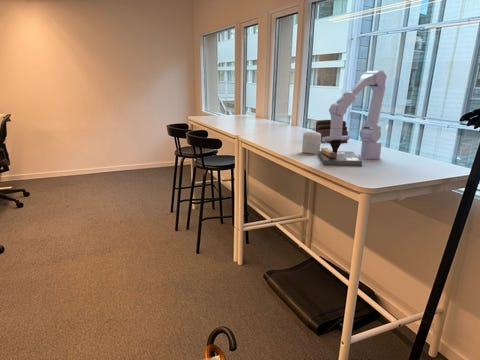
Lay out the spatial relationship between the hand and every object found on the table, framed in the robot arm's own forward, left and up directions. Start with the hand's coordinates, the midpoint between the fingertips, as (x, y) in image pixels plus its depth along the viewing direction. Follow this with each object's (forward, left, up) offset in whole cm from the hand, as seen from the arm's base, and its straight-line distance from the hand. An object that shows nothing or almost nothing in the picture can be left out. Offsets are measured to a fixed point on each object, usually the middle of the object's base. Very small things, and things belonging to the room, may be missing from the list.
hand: (334, 154), depth 171 cm
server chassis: (-3, -2, -3) cm, 4 cm away
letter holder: (-7, -57, -4) cm, 58 cm away
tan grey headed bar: (+3, -3, 0) cm, 4 cm away
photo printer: (+10, -18, -4) cm, 21 cm away
